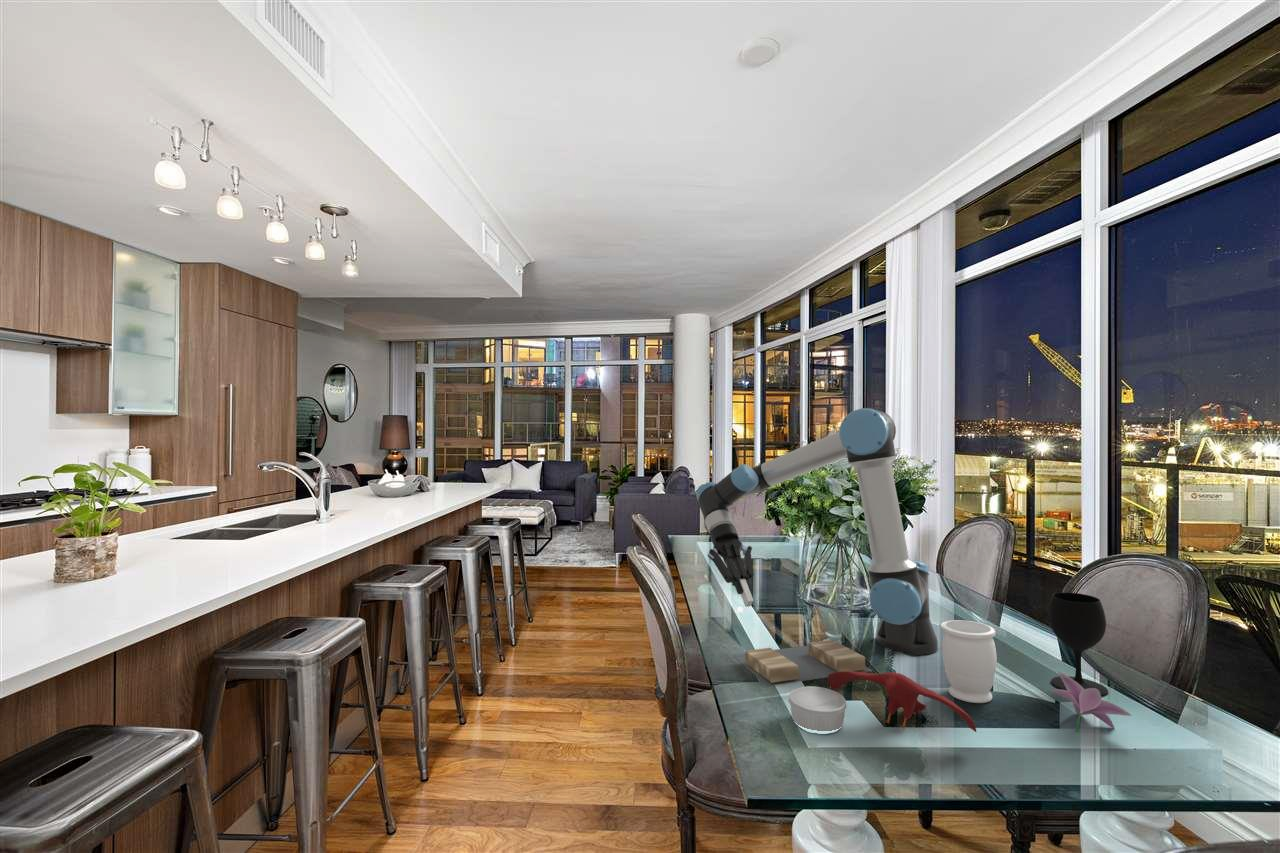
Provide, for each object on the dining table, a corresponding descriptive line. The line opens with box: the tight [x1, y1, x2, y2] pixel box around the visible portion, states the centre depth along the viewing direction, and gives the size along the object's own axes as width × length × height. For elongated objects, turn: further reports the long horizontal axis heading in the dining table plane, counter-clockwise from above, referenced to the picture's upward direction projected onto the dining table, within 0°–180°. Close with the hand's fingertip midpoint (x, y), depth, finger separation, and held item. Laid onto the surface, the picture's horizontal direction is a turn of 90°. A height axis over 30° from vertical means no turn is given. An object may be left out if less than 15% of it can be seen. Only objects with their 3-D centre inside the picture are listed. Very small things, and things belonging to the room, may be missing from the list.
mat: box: [731, 645, 874, 687], centre depth 149 cm, size 28×20×1 cm
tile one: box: [807, 639, 867, 672], centre depth 148 cm, size 3×7×14 cm
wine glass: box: [1047, 592, 1109, 698], centre depth 133 cm, size 10×10×20 cm
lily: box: [1050, 671, 1132, 733], centre depth 115 cm, size 12×12×10 cm
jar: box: [941, 619, 997, 704], centre depth 130 cm, size 11×10×15 cm
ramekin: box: [788, 685, 847, 731], centre depth 119 cm, size 11×11×5 cm
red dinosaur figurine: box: [827, 671, 978, 733], centre depth 118 cm, size 28×9×15 cm
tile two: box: [744, 647, 799, 683], centre depth 144 cm, size 3×7×14 cm
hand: (749, 603), depth 153 cm, fingers closed
